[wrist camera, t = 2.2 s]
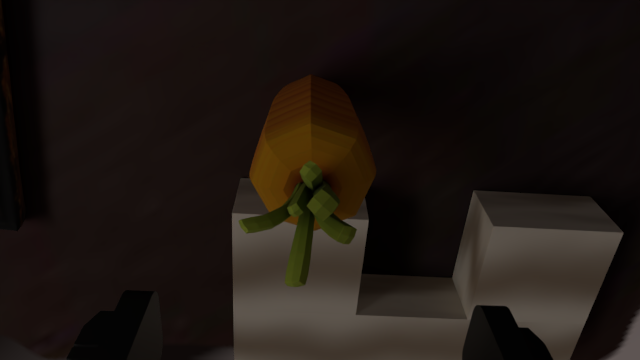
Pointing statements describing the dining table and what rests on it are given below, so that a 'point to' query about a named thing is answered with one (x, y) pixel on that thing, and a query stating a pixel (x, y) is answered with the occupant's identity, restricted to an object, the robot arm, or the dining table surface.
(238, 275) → the notched board
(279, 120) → the carrot
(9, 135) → the framed painting
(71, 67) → the dining table surface
